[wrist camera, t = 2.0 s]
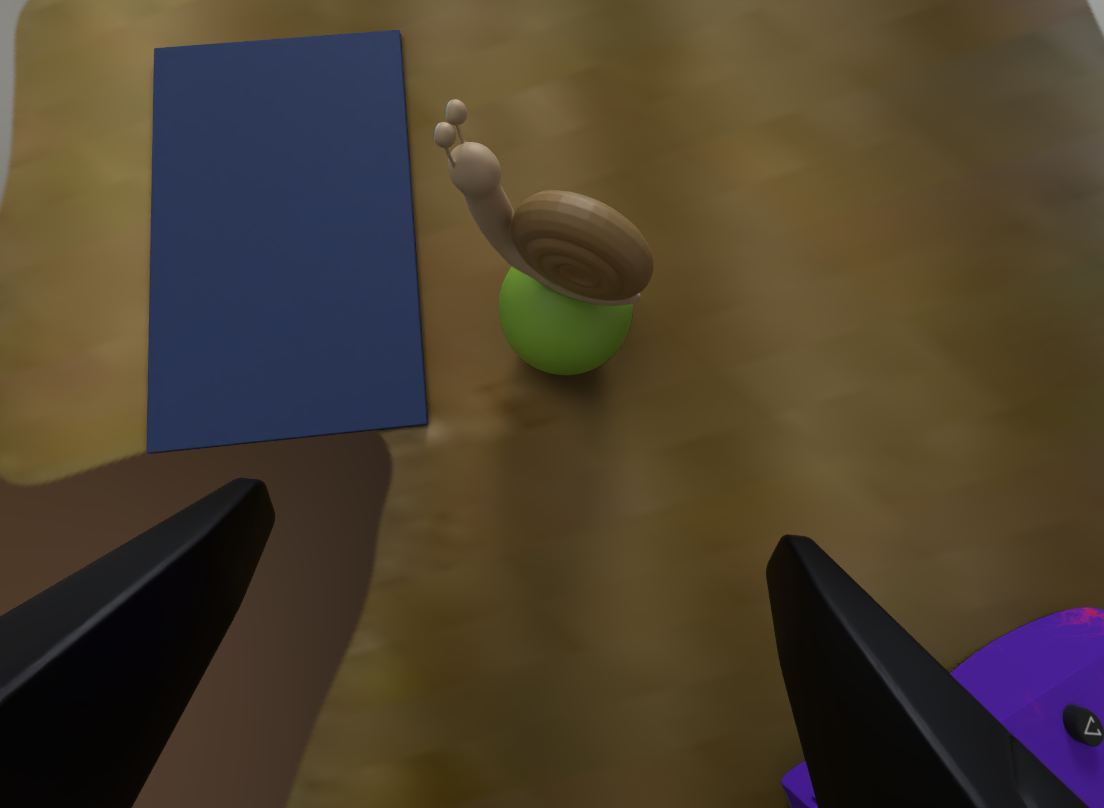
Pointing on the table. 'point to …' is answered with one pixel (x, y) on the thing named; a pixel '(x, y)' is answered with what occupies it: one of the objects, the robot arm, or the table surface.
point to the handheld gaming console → (1035, 699)
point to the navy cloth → (282, 243)
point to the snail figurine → (553, 262)
